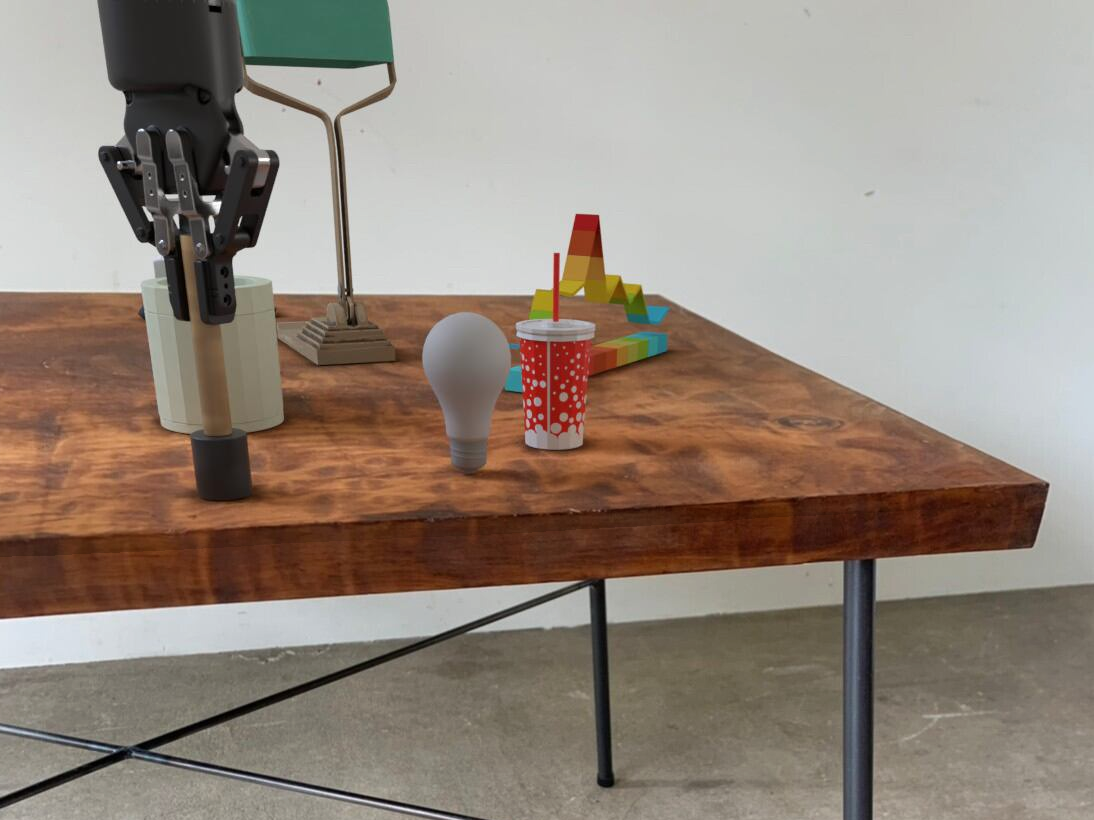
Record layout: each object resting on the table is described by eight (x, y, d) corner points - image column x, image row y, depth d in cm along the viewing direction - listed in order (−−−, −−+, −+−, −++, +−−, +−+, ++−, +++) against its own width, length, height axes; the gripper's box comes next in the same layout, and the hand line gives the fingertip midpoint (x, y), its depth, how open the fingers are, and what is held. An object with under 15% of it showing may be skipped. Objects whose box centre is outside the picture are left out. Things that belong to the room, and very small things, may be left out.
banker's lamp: (282, 367, 120) (246, -37, 104) (244, 337, 137) (207, -13, 121) (427, 358, 126) (414, -25, 110) (373, 331, 143) (354, -4, 127)
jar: (174, 439, 91) (154, 291, 86) (150, 414, 99) (130, 277, 94) (298, 428, 95) (286, 286, 90) (266, 405, 103) (253, 273, 98)
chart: (641, 348, 134) (648, 206, 128) (666, 351, 133) (675, 207, 126) (502, 390, 111) (502, 219, 104) (531, 394, 110) (532, 220, 103)
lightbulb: (505, 462, 87) (504, 306, 81) (517, 483, 81) (517, 318, 76) (423, 464, 86) (417, 306, 80) (430, 486, 80) (423, 319, 75)
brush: (204, 503, 76) (170, 237, 68) (192, 489, 79) (158, 233, 71) (258, 497, 77) (231, 236, 70) (245, 484, 80) (217, 232, 73)
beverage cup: (599, 436, 94) (605, 250, 88) (583, 454, 89) (589, 258, 83) (526, 431, 95) (526, 248, 89) (506, 449, 90) (506, 254, 84)
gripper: (30, -6, 65) (83, 318, 73) (201, -18, 59) (238, 339, 67) (138, 7, 71) (176, 306, 79) (304, -3, 64) (328, 325, 72)
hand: (205, 320), depth 73 cm, fingers closed on brush, 2 cm apart
